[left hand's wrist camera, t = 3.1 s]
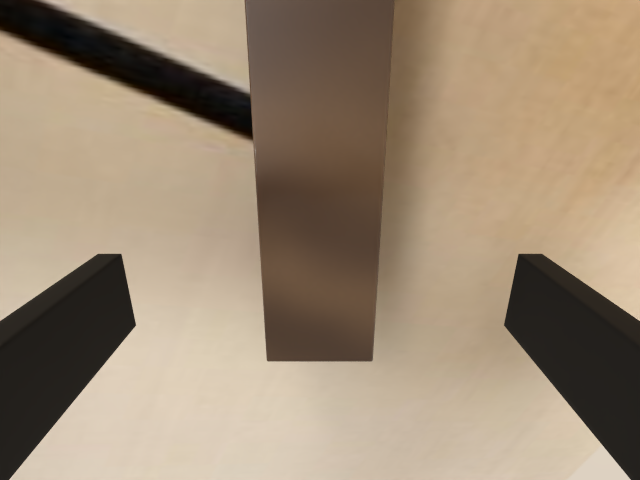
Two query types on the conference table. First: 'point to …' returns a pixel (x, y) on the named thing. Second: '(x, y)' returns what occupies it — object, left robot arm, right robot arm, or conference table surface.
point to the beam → (319, 170)
